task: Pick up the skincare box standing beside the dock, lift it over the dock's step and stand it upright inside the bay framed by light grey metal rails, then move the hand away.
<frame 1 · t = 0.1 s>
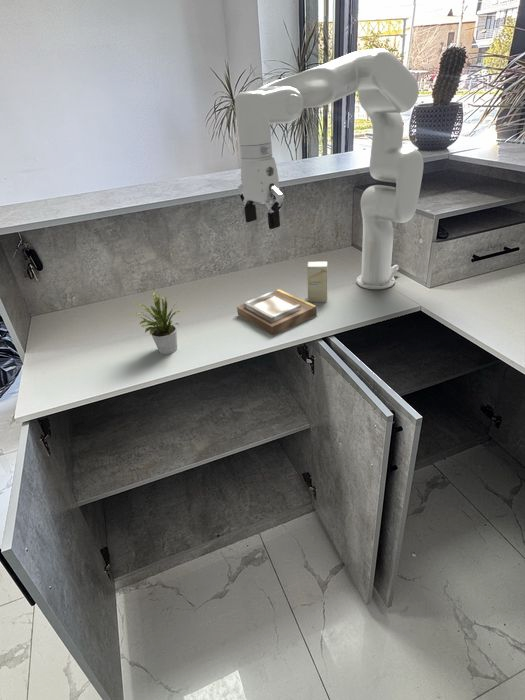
hand: (262, 224, 111), 31 cm above the worktop, tool pointing down, fingers open, 9 cm apart
dock: (276, 315, 135), on the worktop
skincare box: (318, 299, 142), on the worktop
house plant: (165, 348, 125), on the worktop
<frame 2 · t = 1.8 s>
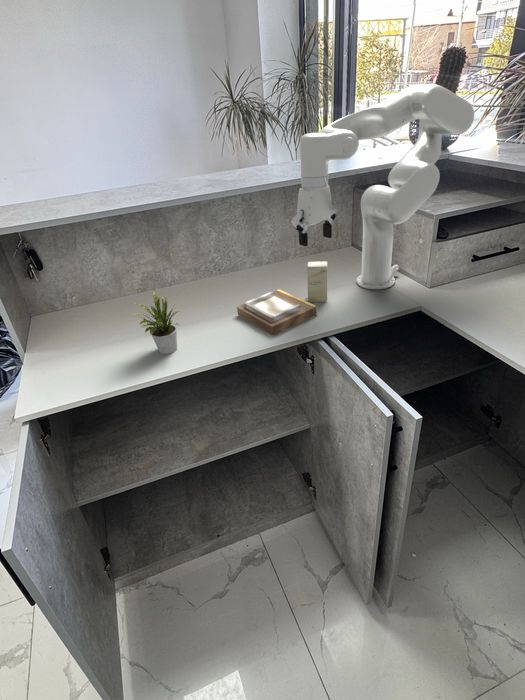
hand: (315, 241, 132), 19 cm above the worktop, tool pointing down, fingers open, 9 cm apart
nothing on the worktop moved.
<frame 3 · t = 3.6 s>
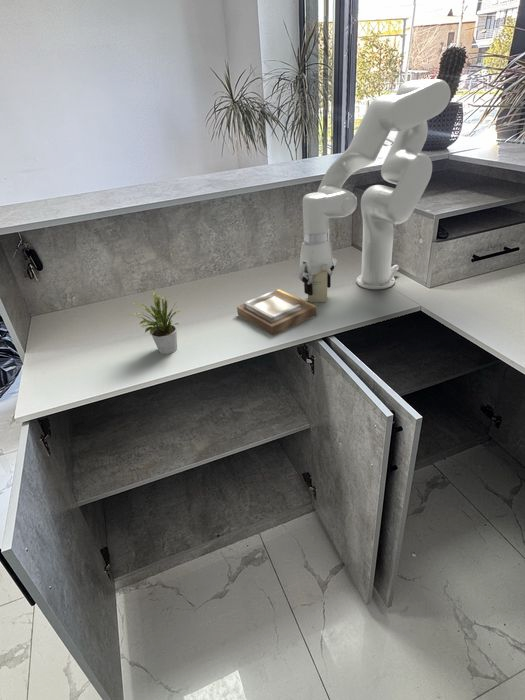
hand: (317, 289, 141), 3 cm above the worktop, tool pointing down, fingers closed on skincare box, 7 cm apart
skincare box: (318, 299, 142), on the worktop, touching gripper
everything else where it was.
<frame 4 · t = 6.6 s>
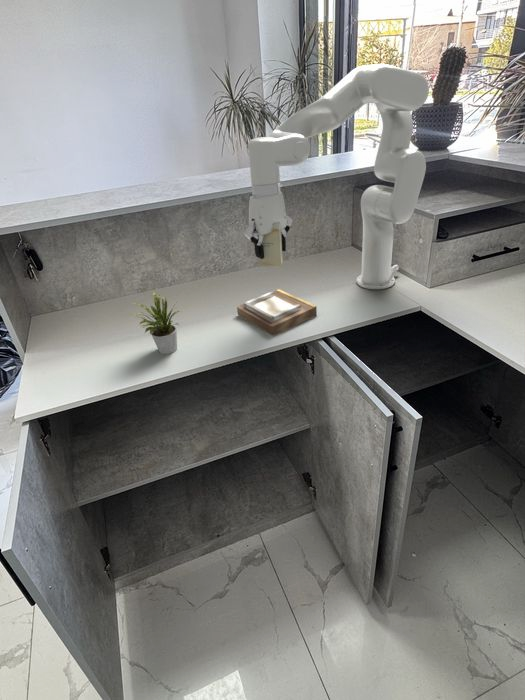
hand: (271, 253, 124), 20 cm above the worktop, tool pointing down, fingers closed on skincare box, 7 cm apart
skincare box: (272, 264, 126), point 17 cm above the worktop, touching gripper
everything else where it was.
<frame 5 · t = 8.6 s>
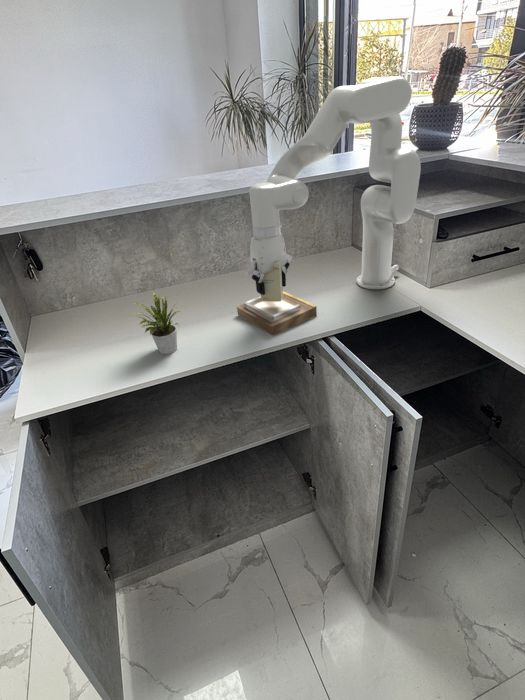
hand: (271, 289, 130), 9 cm above the worktop, tool pointing down, fingers closed on skincare box, 7 cm apart
skincare box: (272, 299, 132), point 6 cm above the worktop, touching gripper
everything else where it was.
when the fingers open (8 cm above the worktop, at t = 9.9 s): skincare box drops 1 cm, resting on dock.
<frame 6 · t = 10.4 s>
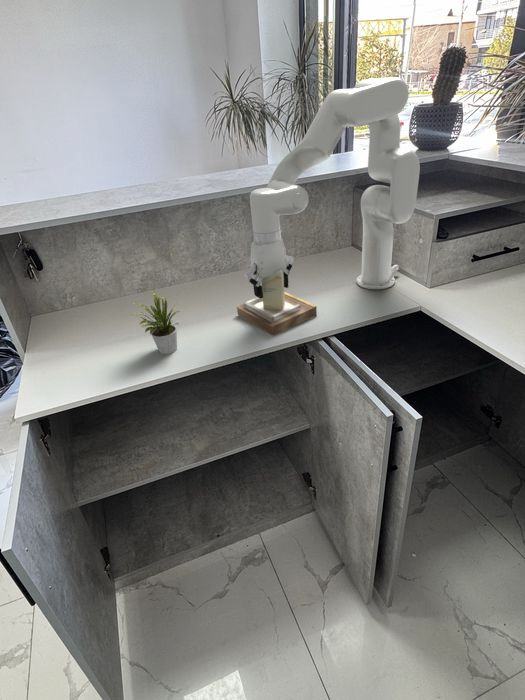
hand: (271, 291, 130), 8 cm above the worktop, tool pointing down, fingers open, 9 cm apart
skincare box: (274, 307, 133), point 3 cm above the worktop, touching dock
everything else where it was.
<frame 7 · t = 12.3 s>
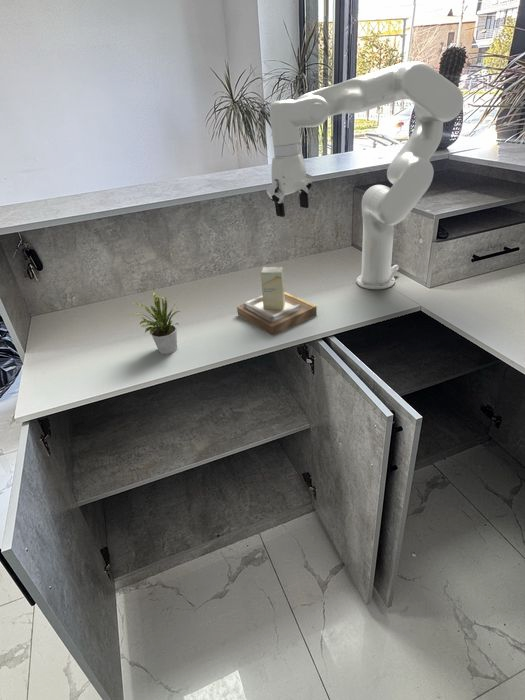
hand: (292, 211, 131), 28 cm above the worktop, tool pointing down, fingers open, 9 cm apart
nothing on the worktop moved.
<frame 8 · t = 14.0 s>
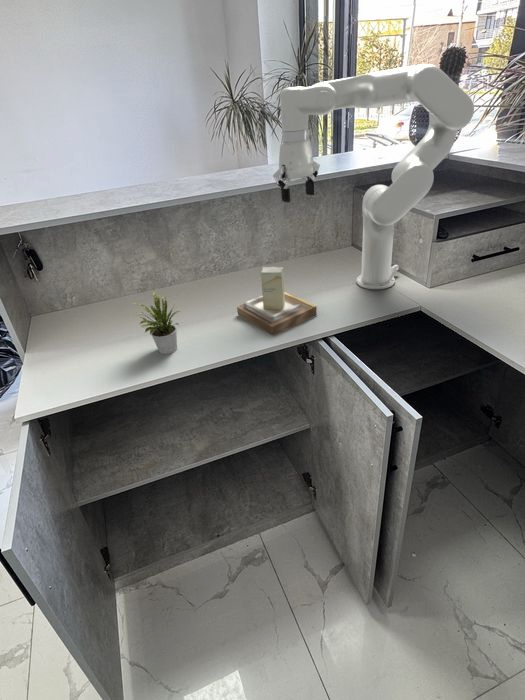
hand: (298, 198, 134), 30 cm above the worktop, tool pointing down, fingers open, 9 cm apart
nothing on the worktop moved.
at the end: skincare box inside the target area on the dock (0.5 cm from its centre), point 3.0 cm above the dock's base; skincare box tilted 0°; the gripper is holding nothing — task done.
